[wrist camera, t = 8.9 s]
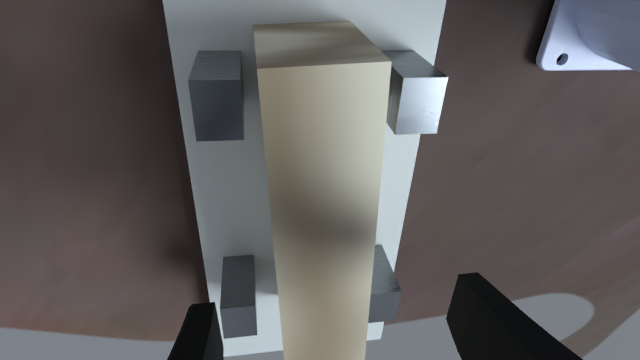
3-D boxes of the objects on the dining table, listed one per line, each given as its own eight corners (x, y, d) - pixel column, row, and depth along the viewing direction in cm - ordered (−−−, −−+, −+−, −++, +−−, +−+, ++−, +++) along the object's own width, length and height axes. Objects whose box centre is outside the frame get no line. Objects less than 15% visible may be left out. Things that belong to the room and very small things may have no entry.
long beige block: (349, 20, 15) (391, 61, 11) (341, 287, 22) (363, 371, 18) (253, 24, 14) (256, 69, 10) (278, 294, 22) (286, 383, 18)
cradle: (460, -142, 13) (536, -162, 10) (376, 325, 26) (396, 387, 23) (143, -166, 12) (101, -200, 8) (219, 342, 25) (215, 412, 21)
